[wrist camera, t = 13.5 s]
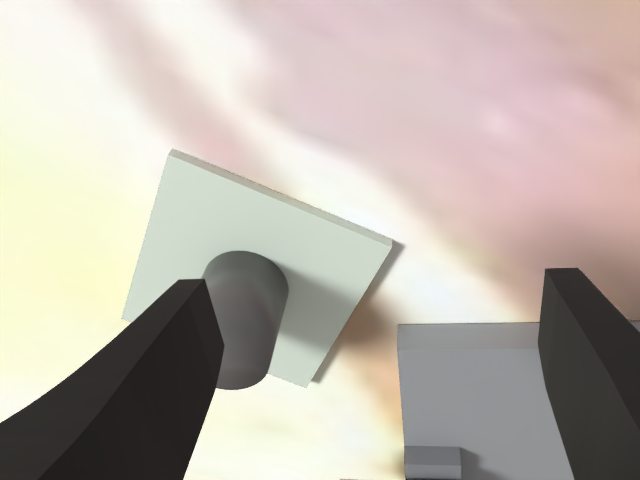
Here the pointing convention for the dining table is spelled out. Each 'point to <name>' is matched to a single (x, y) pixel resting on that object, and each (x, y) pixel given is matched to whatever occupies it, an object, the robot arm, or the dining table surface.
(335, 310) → the lid
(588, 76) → the dining table surface
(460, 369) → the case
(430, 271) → the dining table surface
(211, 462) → the dining table surface
